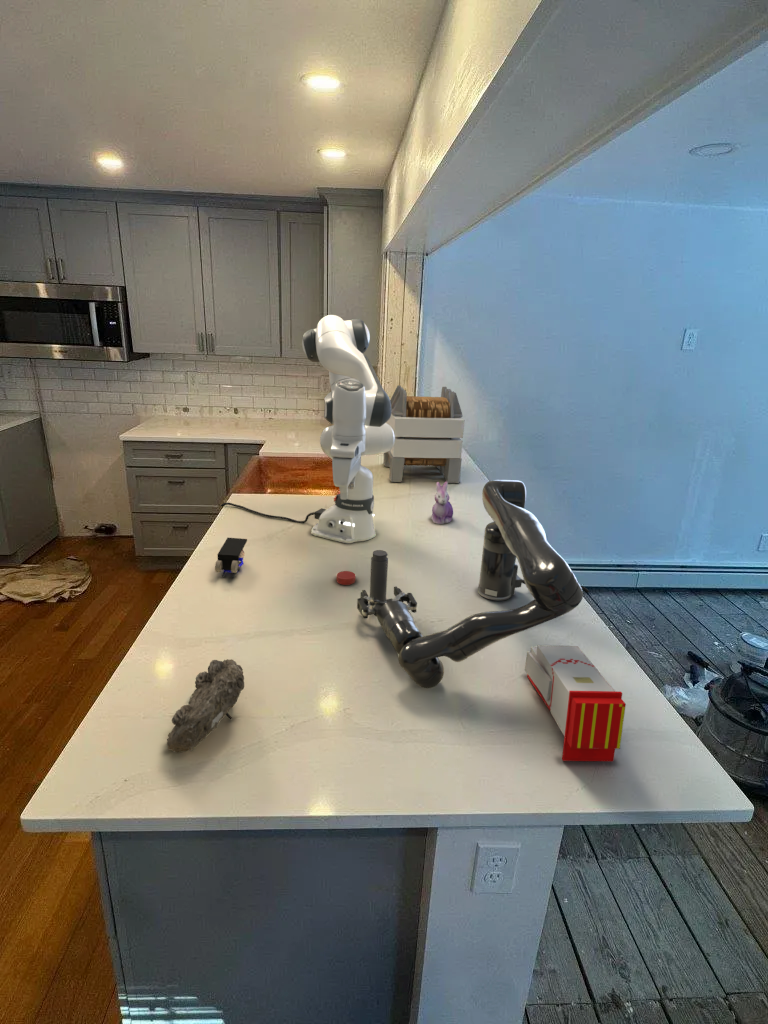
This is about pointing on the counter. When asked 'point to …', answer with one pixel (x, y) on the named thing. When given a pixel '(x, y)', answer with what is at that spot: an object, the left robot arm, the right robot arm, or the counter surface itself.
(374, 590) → the jar
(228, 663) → the fossil
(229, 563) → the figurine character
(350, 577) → the lid
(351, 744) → the counter surface
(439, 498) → the figurine
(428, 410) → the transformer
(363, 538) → the left robot arm
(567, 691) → the toy
